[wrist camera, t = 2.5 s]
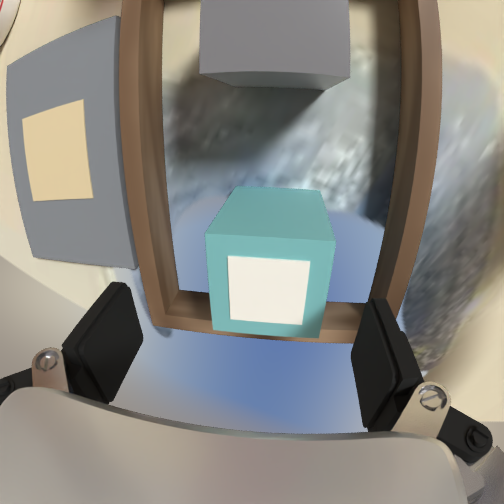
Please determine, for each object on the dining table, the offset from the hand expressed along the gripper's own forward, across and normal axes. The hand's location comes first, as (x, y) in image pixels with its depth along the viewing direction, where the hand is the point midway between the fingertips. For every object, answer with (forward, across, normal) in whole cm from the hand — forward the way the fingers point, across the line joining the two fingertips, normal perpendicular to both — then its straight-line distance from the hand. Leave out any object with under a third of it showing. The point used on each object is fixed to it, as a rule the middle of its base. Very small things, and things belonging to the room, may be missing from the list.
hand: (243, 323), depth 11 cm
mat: (+9, +15, -6) cm, 18 cm away
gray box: (+8, -1, -12) cm, 14 cm away
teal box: (+9, -1, 0) cm, 9 cm away
